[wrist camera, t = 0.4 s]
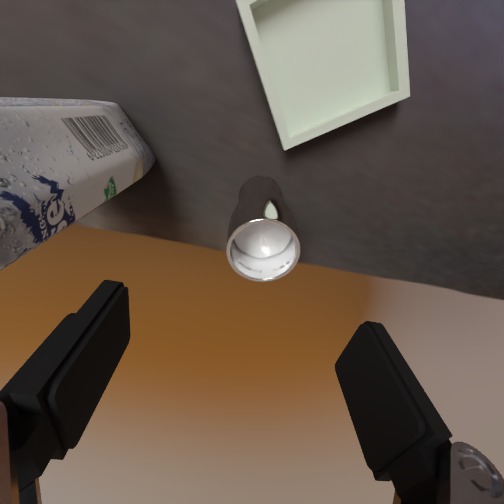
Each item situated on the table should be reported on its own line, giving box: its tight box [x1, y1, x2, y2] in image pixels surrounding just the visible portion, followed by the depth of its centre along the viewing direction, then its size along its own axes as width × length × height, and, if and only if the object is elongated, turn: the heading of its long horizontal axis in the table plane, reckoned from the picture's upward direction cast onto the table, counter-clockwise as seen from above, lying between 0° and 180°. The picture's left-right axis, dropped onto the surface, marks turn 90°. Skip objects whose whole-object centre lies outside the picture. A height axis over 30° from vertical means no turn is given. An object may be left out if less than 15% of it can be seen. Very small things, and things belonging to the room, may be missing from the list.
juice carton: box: [0, 97, 156, 270], centre depth 19 cm, size 9×10×27 cm
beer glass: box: [226, 176, 300, 282], centre depth 28 cm, size 7×7×15 cm
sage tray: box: [235, 0, 410, 151], centre depth 25 cm, size 14×14×2 cm
